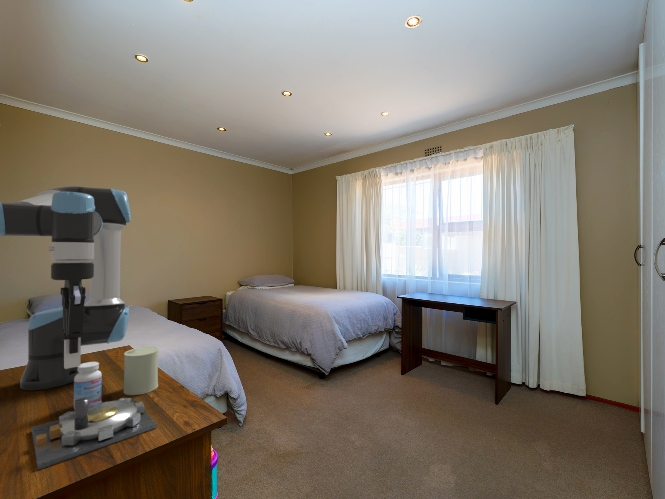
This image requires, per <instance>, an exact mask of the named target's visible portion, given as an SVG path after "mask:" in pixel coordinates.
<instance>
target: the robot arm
mask: <svg viewBox="0 0 665 499" xmlns="http://www.w3.org/2000/svg"><path fill="white" fill-rule="evenodd" d="M131 216H132V215H131V210H130V203H129V198H128V194H127V193H126V192H125V191H124V190H121V189H115V188H114V189H113V188H102V187H87V186H78V185H77V186H74V185H72V186H62V187H56V188H49V189H45V190H42V191H40V192H39V193H38V194H37V195H36V196H33V197H29V198H26V199H22V200H19V201H14V202H11V203H10V202H9V203H8V202H0V236H1V237H5V236H6V237H7V236H8V237H9V236H16V237H17V236H18V237H19V236H21V237H23V236H24V237H25V236H27V237H51V246H48V247H47V251H48V252H51V260H52V261H54V262H52V264H50V279H51V280H53V281H64V287H60V291H59V292H60V295H61V307H58V308H52V309H51V308H50V309H47V310H44V311H40V312H36V313H34V314H32V315H31V316H30V317H29V320H28V328H27V331H28V332H27V333H28V339H27V340H28V341H27V342H28V345H27V346H28V349H27V350H28V352H27V354H28V355H27V357H28V358H27V363H26V366H25V367H24V370H23V373H22V375H21V378H20V383H19V387H20V390H23V391H43V390H48V389H53V388H57V387H62V386H65V385H67V384H72V383H74V378H75V376H76V375H77V374H78V373H79V372H78V371H77V370H78V366H80V364H81V353H82V352H81V348H82V347H83V346H84V347H85V346H90V345H101V344H110V343H117V342H121V341H123V339H125V337H126V334H127V333H126V332H127V329H128V324H129V317H130V308H129V307H128V306H126V305H125V304H126V303H125V301H123V299H122V298H120V297H121V256H122V255H121V249H122V248H121V247H122V244H121V243H122V242H121V241H122V240H121V239H122V232H123V231H124V230H125V229H126V227H127V224H129V223H131V221H132V217H131ZM82 280H89V300H88V301H87V302H86V303H85V300H86V298H87V296H86V287H85V286H83V284H82V283H83V282H82Z"/></svg>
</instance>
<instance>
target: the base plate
mask: <svg viewBox="0 0 665 499" xmlns="http://www.w3.org/2000/svg"><path fill="white" fill-rule="evenodd" d="M131 402H133V403H138V400H136V398H131ZM149 414H150V413H148V412H147V411H146V410H145V409H144V412H143V413H140V421H139V422H138V423H137V424H136V425H134V426H126V427H124V428H123V429H121V430H119V431H116V432H114V433H113V437H110V438H107V439H104V440H100V441H99V440H98V438H95V439H90V440H83V441H79V442H77V443H76V444H75V445H62V438H61V437H57V438H54V439H51V440H50V426H54V425H57V424H59V419H57V420H54V421H50V422H46V423H43V424H38V425H35V426H32V427H31V435H32V440H33V441H32V442H33V448H34V455H35V459H36V460H35V461H36V467H37V471H39V470H42V469H45V468H47V467H50V466H54V465H55V464H59V463H62V462H64V461H68V460H70V459H73V458H77V457H79V456H81V455H84V454H87V453H90V452H92V451H93V452H94V451H96V450H98V449H100V448H104V447H107V446H109V445H112V444H114V443H119V442H121V441H124V440H126V439H130V438H132V437H135V436H138V435H141V434H143V433H146V432H149V431H152V430H155V429H157V428H158V424H157V422H156V421H155V420H154V418H152V417H151V415H149Z"/></svg>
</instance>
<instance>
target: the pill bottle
mask: <svg viewBox="0 0 665 499" xmlns="http://www.w3.org/2000/svg"><path fill="white" fill-rule="evenodd" d="M99 367H100V363H99V362H98V361H88V362H84V363H80V366H78V370H77V371H78V372H79V373H78V374H77V375H76V376H75V378H74V382H73V409H74V410H75V401H76V400H78V399H81V398H88V406H89V403H93V402H97V401H102V388H103V386H102V384H103V383H102V382H103V381H102V378H103V375H102V371H100V370H99Z"/></svg>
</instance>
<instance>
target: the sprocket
mask: <svg viewBox="0 0 665 499" xmlns="http://www.w3.org/2000/svg"><path fill="white" fill-rule="evenodd" d="M131 399H132V398H131V397H120V398H119V399H117V400H109V401H105V402H103V400H101V401H97V402H93V403H89V406H88V398H81V399H78V400H76V401H75V409H74V410H73V411H71V410H70V411H67V412H65V413H63V414H61V415H60V416H59V417H58V420H59V424H57V425H54V426H50V440H51V439H54V438H57V437H61V438H62V445H75V444H76V443H77V442H79V441H83V440H90V439H95V438H98V440H99V441H100V440H104V439H107V438H110V437H113V433H114V432H116V431H119V430H121V429H123V428H124V427H126V426H134V425H136V424H137V423H138V422H139V421H140V413H143V412H144V410H145V404H144V402H143V401H139V402H138V401H137V402H138V403H133V402H131Z"/></svg>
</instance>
